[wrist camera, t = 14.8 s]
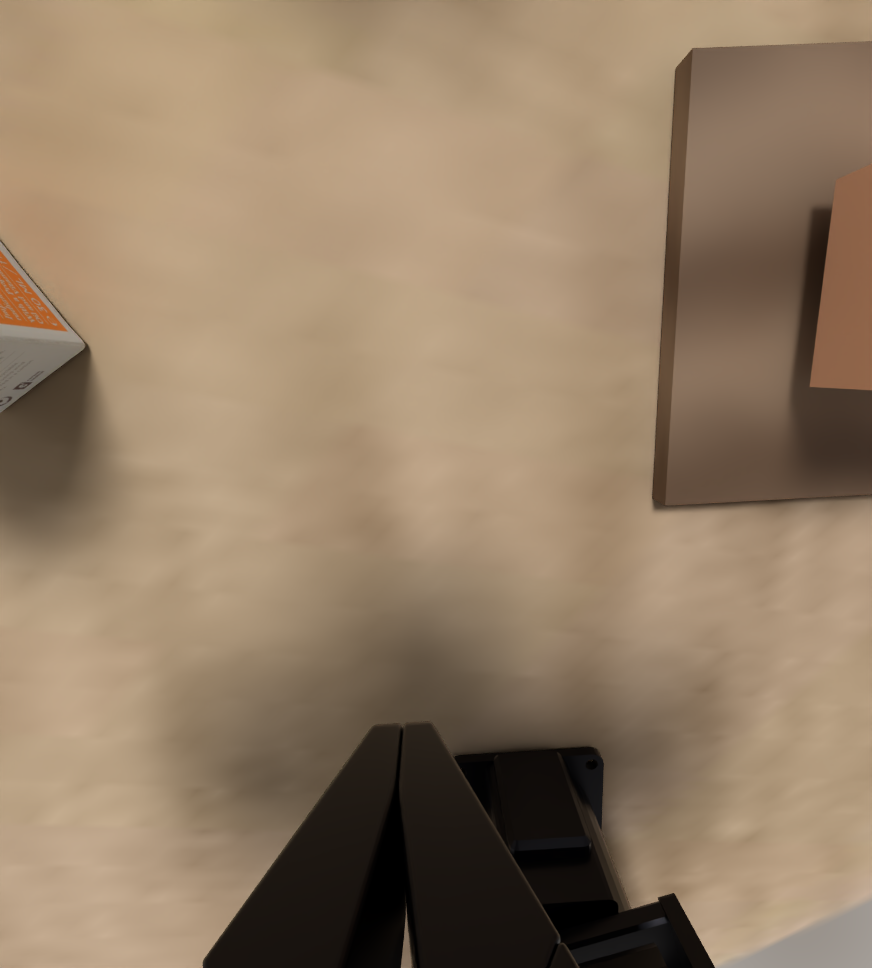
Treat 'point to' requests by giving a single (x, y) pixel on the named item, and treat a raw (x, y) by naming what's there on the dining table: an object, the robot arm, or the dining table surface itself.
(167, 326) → the dining table surface
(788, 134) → the board
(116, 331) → the dining table surface
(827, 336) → the salmon pink rectangular prism
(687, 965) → the robot arm
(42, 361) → the skincare box
